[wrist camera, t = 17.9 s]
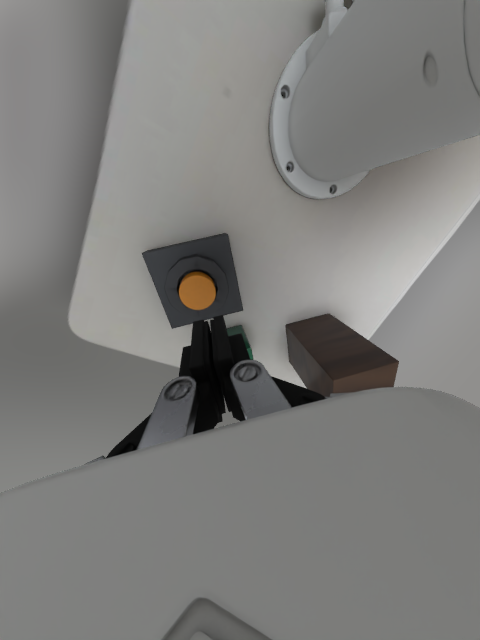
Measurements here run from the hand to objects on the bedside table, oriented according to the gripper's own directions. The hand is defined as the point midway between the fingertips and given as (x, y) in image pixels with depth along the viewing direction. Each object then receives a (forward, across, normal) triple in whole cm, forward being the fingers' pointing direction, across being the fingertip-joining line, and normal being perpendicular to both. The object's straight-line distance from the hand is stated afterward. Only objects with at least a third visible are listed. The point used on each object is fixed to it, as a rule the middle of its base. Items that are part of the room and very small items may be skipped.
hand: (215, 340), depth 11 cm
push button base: (+15, +1, 0) cm, 15 cm away
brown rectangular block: (+15, -13, +13) cm, 24 cm away
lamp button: (+11, +1, 0) cm, 11 cm away
